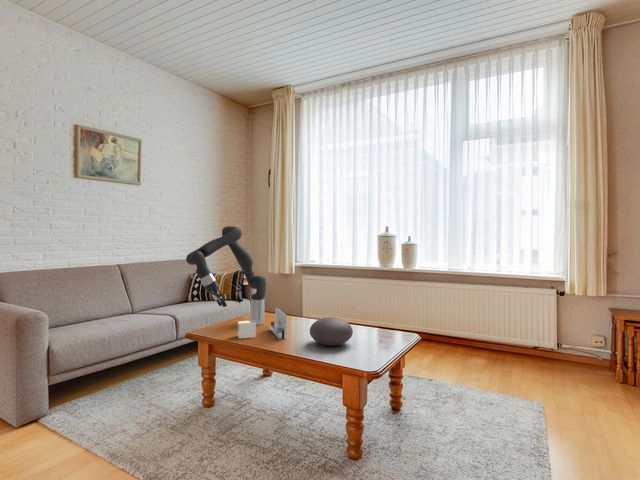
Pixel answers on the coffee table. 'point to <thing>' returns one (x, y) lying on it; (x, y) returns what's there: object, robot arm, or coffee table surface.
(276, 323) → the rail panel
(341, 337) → the flattened ellipsoid
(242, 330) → the block
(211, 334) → the coffee table surface
